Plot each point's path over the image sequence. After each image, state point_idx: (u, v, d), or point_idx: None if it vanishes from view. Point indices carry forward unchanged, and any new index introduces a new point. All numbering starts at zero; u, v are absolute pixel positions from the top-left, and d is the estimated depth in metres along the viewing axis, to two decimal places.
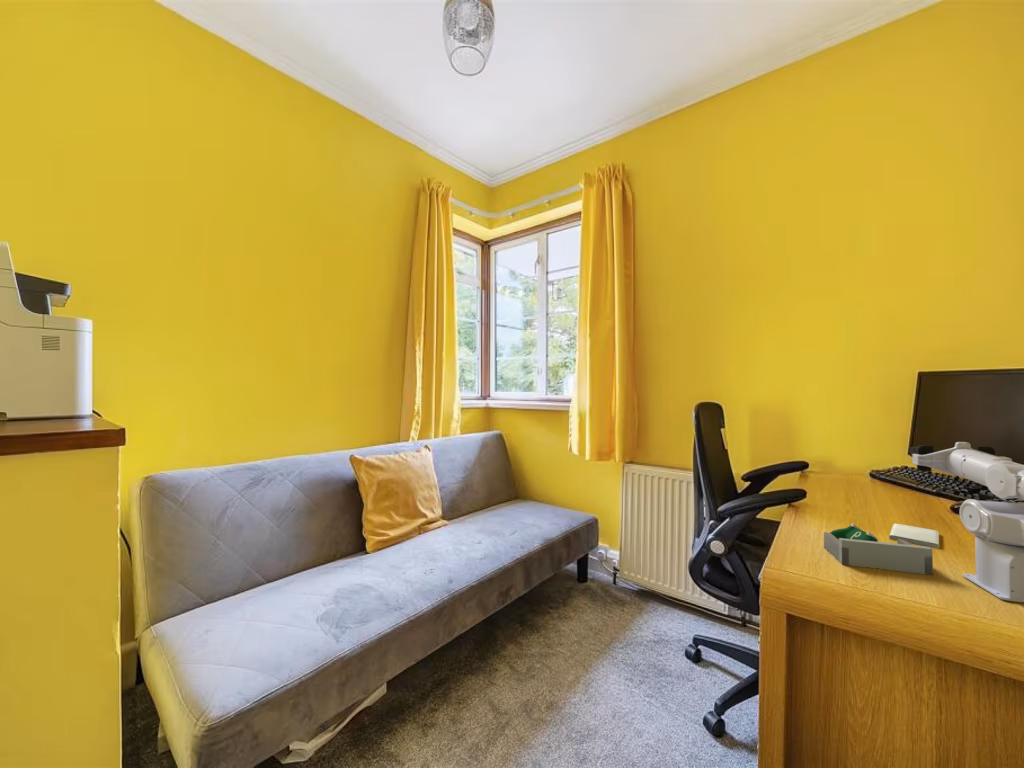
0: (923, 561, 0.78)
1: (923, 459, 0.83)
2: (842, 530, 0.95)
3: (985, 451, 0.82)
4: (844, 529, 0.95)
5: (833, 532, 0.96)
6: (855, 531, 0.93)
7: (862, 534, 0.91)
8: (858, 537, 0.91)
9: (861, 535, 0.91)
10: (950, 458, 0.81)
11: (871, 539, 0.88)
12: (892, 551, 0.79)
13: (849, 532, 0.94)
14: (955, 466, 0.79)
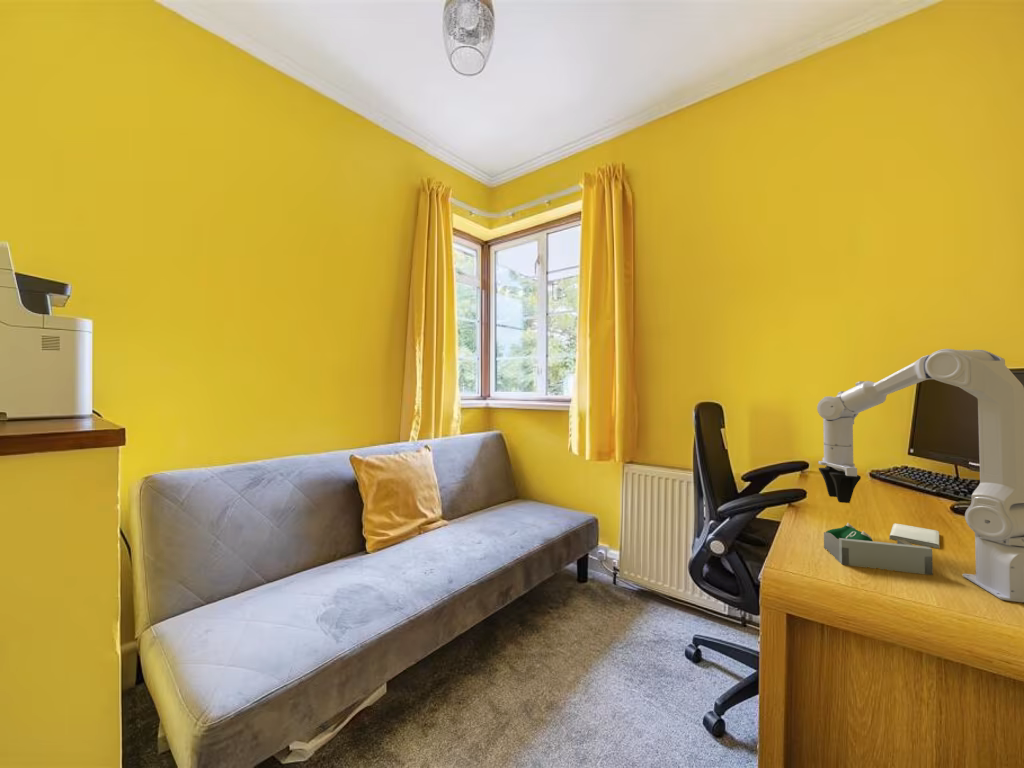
0: (923, 561, 0.78)
1: (848, 468, 0.94)
2: (837, 530, 0.95)
3: (824, 468, 1.04)
4: (839, 529, 0.95)
5: (828, 532, 0.96)
6: (850, 531, 0.93)
7: (857, 534, 0.91)
8: (853, 537, 0.91)
9: (856, 535, 0.91)
10: (838, 459, 0.98)
11: (866, 539, 0.88)
12: (892, 551, 0.79)
13: (844, 532, 0.94)
14: (844, 452, 0.97)
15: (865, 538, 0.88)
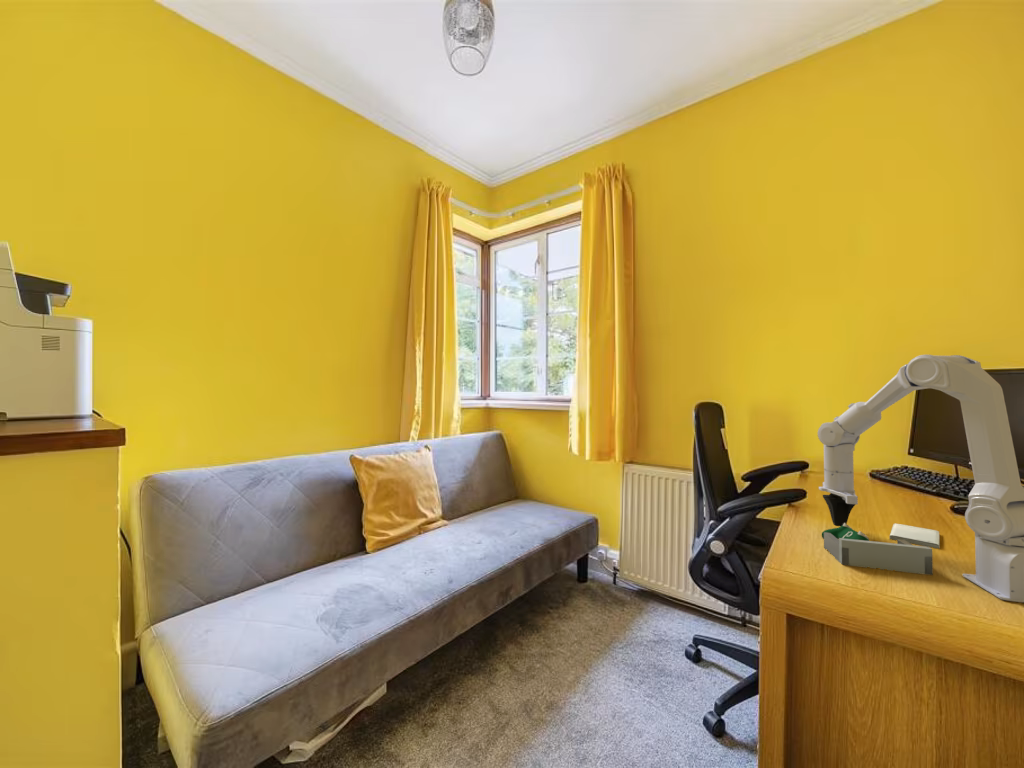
0: (923, 561, 0.78)
1: (849, 495, 0.94)
2: (834, 530, 0.95)
3: (828, 496, 1.01)
4: (836, 529, 0.95)
5: None
6: (847, 531, 0.93)
7: (854, 534, 0.91)
8: (850, 537, 0.91)
9: (853, 535, 0.91)
10: (838, 486, 0.97)
11: (862, 539, 0.88)
12: (892, 551, 0.79)
13: (841, 532, 0.94)
14: (844, 478, 0.97)
15: (862, 538, 0.88)
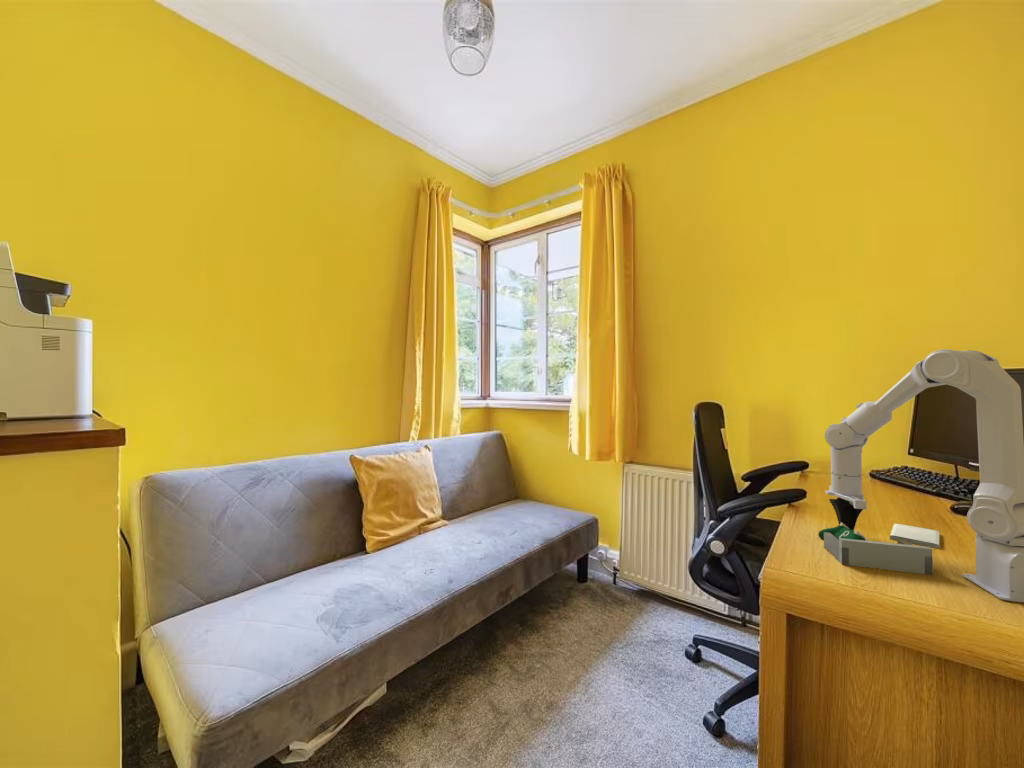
0: (923, 561, 0.78)
1: None
2: (831, 529, 0.95)
3: (835, 500, 0.97)
4: (833, 528, 0.95)
5: (822, 531, 0.96)
6: (844, 530, 0.93)
7: (850, 533, 0.91)
8: (846, 536, 0.91)
9: (849, 534, 0.91)
10: (846, 490, 0.94)
11: (859, 538, 0.88)
12: (892, 551, 0.79)
13: (838, 532, 0.94)
14: (852, 482, 0.93)
15: (858, 537, 0.88)
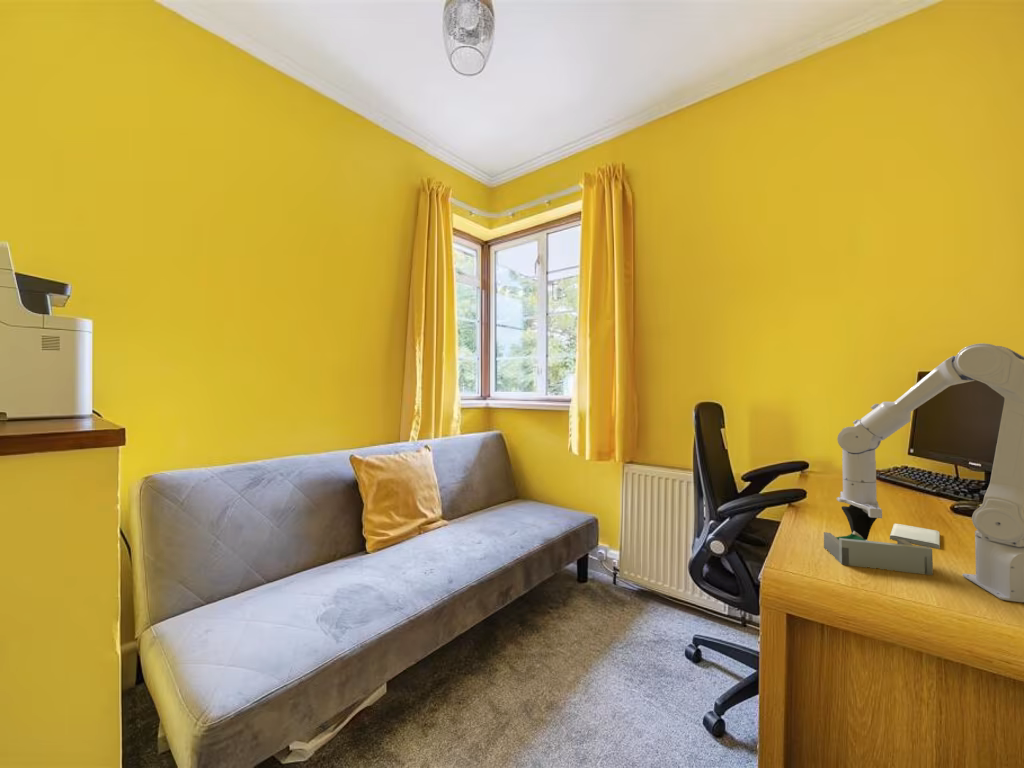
0: (923, 561, 0.78)
1: None
2: None
3: (847, 508, 0.91)
4: (845, 537, 0.89)
5: None
6: (855, 539, 0.87)
7: None
8: None
9: None
10: (860, 497, 0.88)
11: None
12: (892, 551, 0.79)
13: None
14: (866, 489, 0.87)
15: None
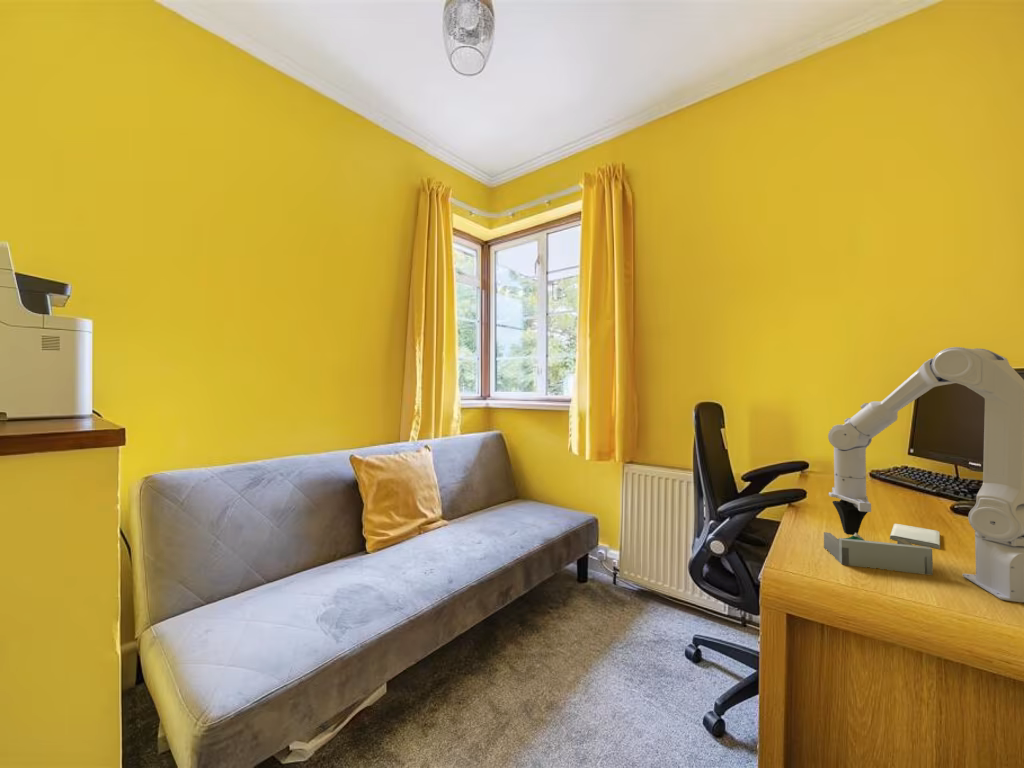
0: (923, 561, 0.78)
1: (862, 502, 0.88)
2: None
3: (838, 502, 0.96)
4: None
5: None
6: None
7: None
8: None
9: None
10: (850, 492, 0.92)
11: None
12: (892, 551, 0.79)
13: None
14: (856, 484, 0.91)
15: None
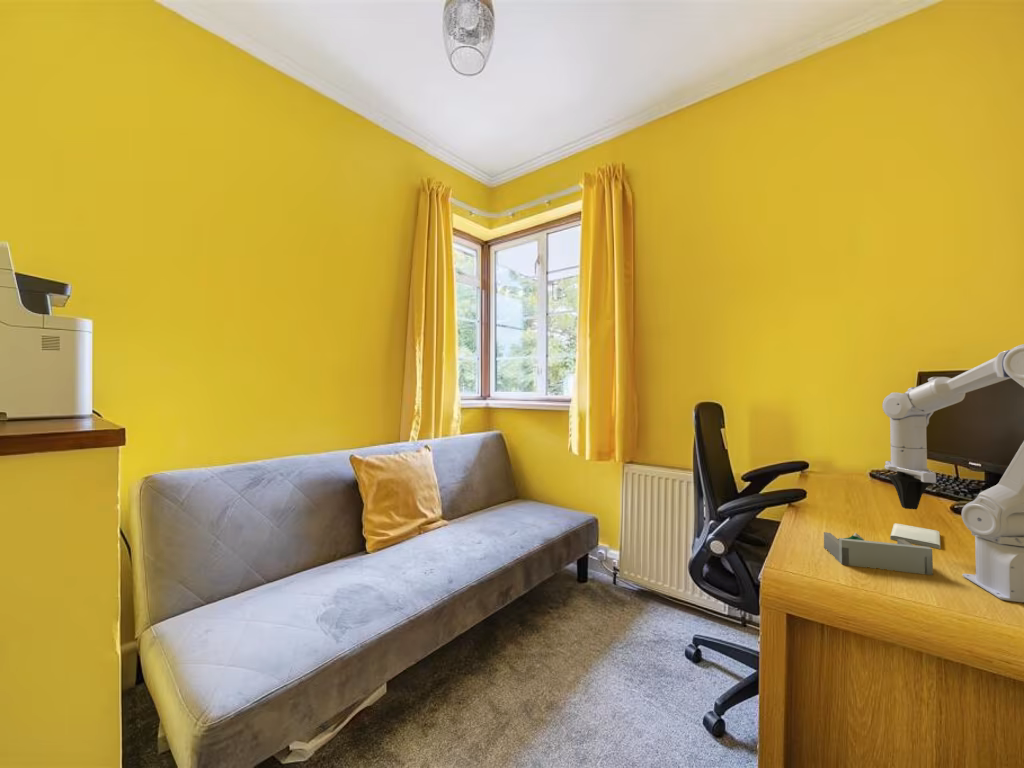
0: (923, 561, 0.78)
1: None
2: None
3: (895, 475, 0.91)
4: None
5: None
6: None
7: None
8: None
9: None
10: (910, 463, 0.87)
11: None
12: (892, 551, 0.79)
13: None
14: (917, 455, 0.86)
15: None
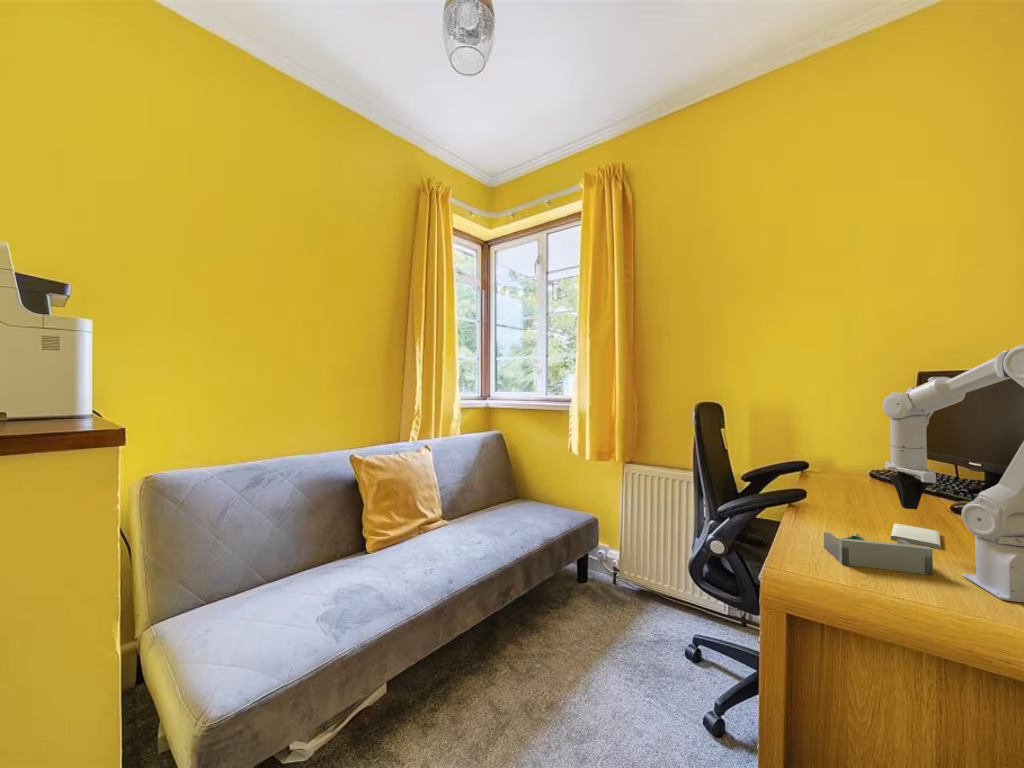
0: (923, 561, 0.78)
1: None
2: None
3: (895, 475, 0.91)
4: (846, 538, 0.89)
5: None
6: None
7: None
8: None
9: None
10: (910, 463, 0.87)
11: None
12: (892, 551, 0.79)
13: None
14: (917, 455, 0.86)
15: None
